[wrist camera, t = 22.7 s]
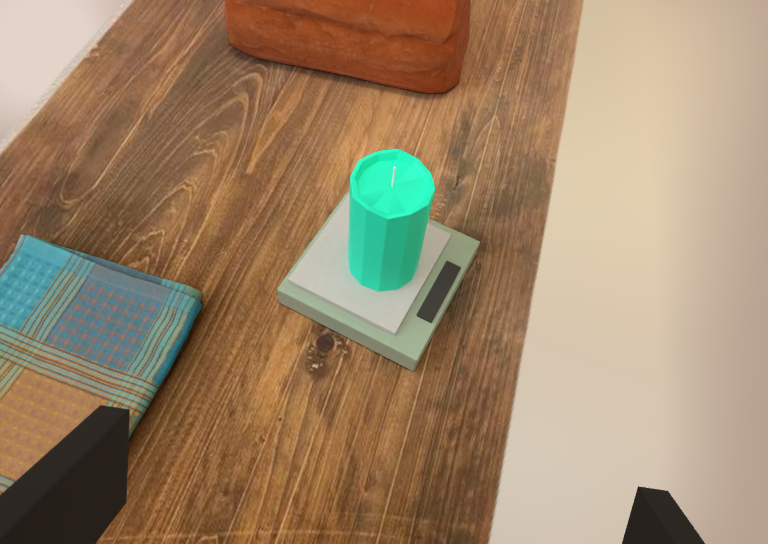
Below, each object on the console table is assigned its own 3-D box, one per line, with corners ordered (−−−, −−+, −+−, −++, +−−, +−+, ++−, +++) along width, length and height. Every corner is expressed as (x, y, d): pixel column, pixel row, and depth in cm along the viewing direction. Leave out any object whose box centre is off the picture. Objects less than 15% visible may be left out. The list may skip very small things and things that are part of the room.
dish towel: (213, 301, 50) (208, 286, 48) (48, 597, 39) (31, 595, 37) (36, 240, 52) (23, 224, 50) (-174, 506, 41) (-203, 499, 38)
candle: (353, 227, 52) (356, 129, 41) (421, 236, 52) (441, 140, 41) (342, 286, 49) (343, 196, 38) (414, 296, 49) (435, 208, 38)
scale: (475, 255, 55) (482, 237, 52) (413, 372, 48) (418, 358, 46) (352, 198, 57) (353, 178, 54) (278, 302, 51) (275, 285, 48)
